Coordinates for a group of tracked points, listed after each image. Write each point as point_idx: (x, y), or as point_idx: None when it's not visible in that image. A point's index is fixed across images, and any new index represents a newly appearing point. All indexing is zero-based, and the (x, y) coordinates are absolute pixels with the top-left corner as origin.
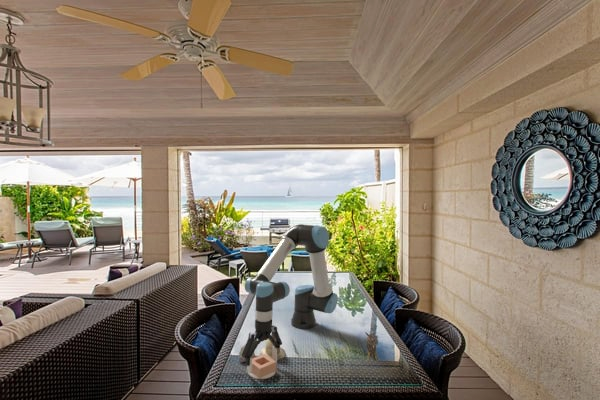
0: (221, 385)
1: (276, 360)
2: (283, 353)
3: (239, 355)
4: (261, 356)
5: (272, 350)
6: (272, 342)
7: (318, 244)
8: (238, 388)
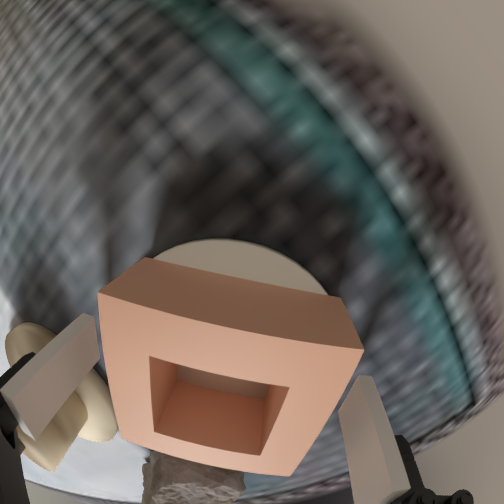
0: (467, 392)
1: (75, 324)
2: (14, 336)
3: (237, 497)
4: (161, 443)
5: (52, 413)
6: (10, 488)
7: None
8: (474, 321)
